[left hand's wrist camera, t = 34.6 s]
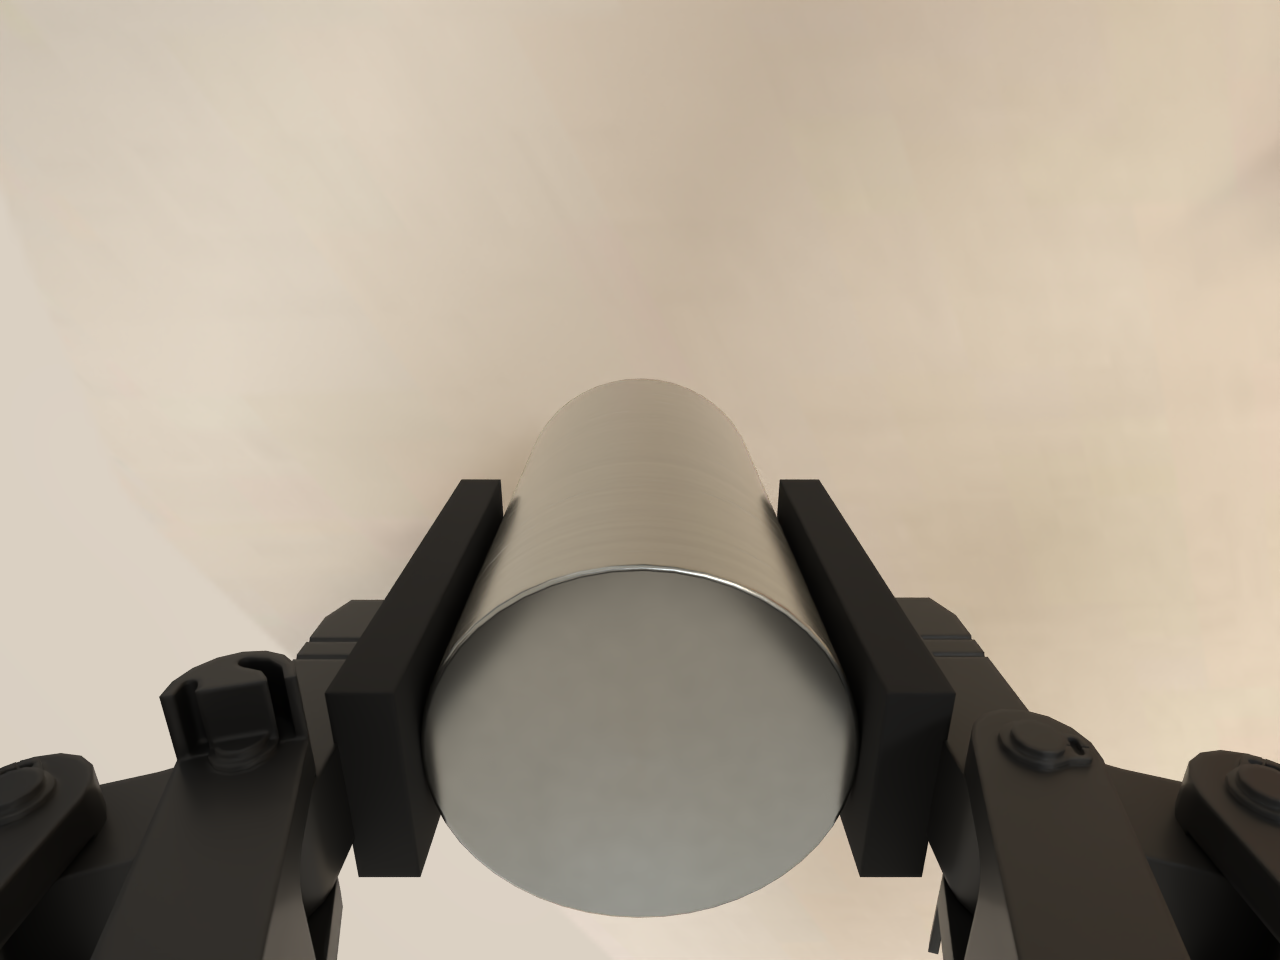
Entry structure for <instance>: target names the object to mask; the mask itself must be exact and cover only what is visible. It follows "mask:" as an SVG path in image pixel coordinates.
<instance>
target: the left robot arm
mask: <svg viewBox="0 0 1280 960" xmlns="http://www.w3.org/2000/svg"><path fill="white" fill-rule="evenodd" d="M502 519H503V506H502V492H501V480H461V481H460V483H459V484H458V486H457V487H456V489H455V491H454V492H453V494H452V495H451V497H450V498H449V500H448V501H447V503H446V505H445V506H444V508H443V509H442V511H441V512H440V514H439V515H438V517H437V519H436V520H435V522H434V523H433V525H432V526H431V528H430V529H429V531H428V533H427V534H426V536H425V537H424V539H423V540H422V542H421V544H420V545H419V547H418V548H417V550H416V551H415V553H414V554H413V556H412V558H411V559H410V561H409V562H408V564H407V565H406V567H405V568H404V570H403V572H402V573H401V575H400V576H399V578H398V579H397V581H396V582H395V584H394V586H393V587H392V589H391V590H390V592H389V593H388V595H387V596H386V598H385V600H351V601H349V602H348V603H346V604H345V605H343V606H342V607H340V608H339V609H337V610H336V611H334V612H333V613H331V614H330V615H328V616H327V617H325V618H324V620H323V621H322V622H321V624H320V625H319V626H318V628H317V629H316V630H315V632H314V633H313V634H312V636H311V637H310V641H309V642H306V643H305V645H304V646H303V647H302V649H301V650H300V651H299V653H298V654H297V659H293V661H291V660H290V659H289V658H287V657H286V656H285V655H283V654H278V653H273V652H269V651H251V652H240V653H236V654H231V655H227V656H223V657H219V658H216V659H213V660H211V661H209V662H206V663H204V664H201V665H199V666H197V667H194V668H192V669H191V670H189V671H188V672H186V673H185V674H183V675H182V676H180V677H179V678H177V679H176V680H174V681H173V682H172V683H171V684H170V685H169V686H168V687H167V688H166V690H165V691H164V692H163V693H162V694H161V696H160V697H159V698H160V701H161V705H162V708H163V712H164V715H165V719H166V722H167V726H168V729H169V732H170V736H171V739H172V743H173V747H174V750H175V754H176V757H177V762H176V764H175V766H174V768H171V769H168V770H164V771H161V772H157V773H152V774H148V775H143V776H138V777H134V778H129V779H125V780H120V781H115V782H111V783H106V784H102V785H99V782H98V779H97V776H96V773H95V770H94V767H93V765H92V764H91V763H90V762H88V761H87V760H86V759H85V758H83V757H82V756H79V755H71V754H63V753H59V754H52V755H44V756H38V757H32V758H29V759H25V760H21V761H20V762H17V763H16V762H15V763H13V764H10V765H7V766H4V767H2V768H0V960H337V953H338V944H339V935H340V926H341V917H342V908H343V905H342V898H341V891H340V886H339V881H338V875H339V873H340V870H341V868H342V866H343V864H344V861H345V859H346V857H347V855H348V852H349V850H350V848H351V846H352V844H353V849H354V854H355V859H356V865H357V870H358V876H359V877H420V876H421V873H422V870H423V867H424V864H425V861H426V858H427V855H428V852H429V849H430V846H431V843H432V840H433V837H434V833H435V830H436V827H437V824H438V821H439V818H440V815H441V814H440V812H439V810H438V808H437V807H436V805H435V803H434V800H433V798H432V795H431V792H430V790H429V787H428V784H427V781H426V777H425V772H424V767H423V762H422V756H421V734H420V732H421V725H422V717H423V709H424V706H425V703H426V699H427V696H428V693H429V689H430V686H431V684H432V681H433V679H434V677H435V674H436V672H437V670H438V667H439V665H440V663H441V661H442V658H443V656H444V654H445V651H446V649H447V647H448V644H449V642H450V640H451V637H452V635H453V633H454V630H455V628H456V626H457V624H458V621H459V619H460V617H461V614H462V612H463V610H464V607H465V605H466V603H467V600H468V598H469V596H470V593H471V591H472V589H473V586H474V584H475V582H476V580H477V577H478V575H479V573H480V570H481V568H482V566H483V563H484V561H485V559H486V556H487V554H488V552H489V549H490V547H491V545H492V543H493V540H494V538H495V536H496V533H497V531H498V529H499V526H500V524H501V522H502ZM777 519H778V521H779V524H780V526H781V528H782V531H783V533H784V535H785V538H786V540H787V542H788V544H789V547H790V549H791V551H792V554H793V556H794V558H795V561H796V563H797V565H798V567H799V570H800V572H801V574H802V577H803V579H804V581H805V584H806V586H807V588H808V591H809V593H810V595H811V597H812V600H813V602H814V604H815V607H816V609H817V611H818V614H819V616H820V618H821V620H822V623H823V625H824V627H825V630H826V632H827V634H828V637H829V639H830V641H831V644H832V646H833V648H834V650H835V653H836V655H837V657H838V660H839V662H840V664H841V667H842V669H843V671H844V673H845V676H846V678H847V680H848V683H849V685H850V687H851V690H852V693H853V697H854V700H855V704H856V708H857V712H858V718H859V729H860V748H859V761H858V766H857V770H856V774H855V779H854V783H853V786H852V789H851V791H850V794H849V796H848V799H847V801H846V804H845V806H844V808H843V810H842V811H841V813H840V817H841V820H842V823H843V826H844V829H845V832H846V835H847V838H848V841H849V844H850V847H851V850H852V854H853V857H854V860H855V863H856V866H857V869H858V872H859V875H860V877H922V873H923V868H924V862H925V857H926V852H927V846H928V841H929V843H930V845H931V848H932V850H933V852H934V854H935V857H936V859H937V861H938V863H939V865H940V868H941V870H942V872H943V876H942V881H941V886H940V891H939V896H938V901H937V906H936V911H935V916H934V920H933V925H932V930H931V935H930V942H929V949H928V952H931V953H935V954H938V952H939V947H940V943H941V942H942V952H943V960H1280V764H1278V763H1275V762H1273V761H1270V760H1267V759H1266V760H1265V759H1262V758H1261V757H1257V756H1253V755H1250V754H1245V753H1238V752H1231V751H1224V750H1217V751H1210V752H1202V753H1199V754H1198V755H1197V756H1196V757H1194V758H1193V759H1192V760H1191V761H1189V764H1188V766H1187V769H1186V772H1185V775H1184V778H1183V781H1182V782H1180V781H1175V780H1170V779H1166V778H1161V777H1157V776H1152V775H1147V774H1143V773H1138V772H1134V771H1129V770H1124V769H1120V768H1117V767H1113V766H1110V765H1106V764H1105V763H1104V760H1103V758H1102V757H1101V756H1100V754H1099V753H1098V752H1097V750H1096V749H1095V747H1094V746H1093V745H1092V743H1091V742H1090V741H1088V740H1087V739H1086V738H1084V737H1083V736H1082V735H1080V734H1079V733H1078V732H1077V731H1075V730H1074V729H1073V728H1071V727H1069V726H1067V725H1065V724H1063V723H1061V722H1059V721H1057V720H1054V719H1052V718H1050V717H1048V716H1044V715H1041V714H1037V713H1033V712H1029V711H1028V709H1027V708H1026V707H1025V705H1024V704H1023V703H1022V701H1021V700H1020V699H1019V697H1018V696H1017V695H1016V693H1015V692H1014V691H1013V690H1012V688H1011V687H1010V686H1009V684H1008V683H1007V682H1006V680H1005V679H1004V678H1003V676H1002V675H1001V674H1000V673H999V671H998V670H997V669H996V667H995V666H994V665H993V663H992V662H991V661H990V659H989V658H988V657H985V656H984V652H983V650H982V649H981V648H980V646H979V645H978V644H977V642H976V641H975V640H972V639H971V634H970V633H969V632H968V631H967V629H966V628H965V627H964V625H963V624H962V623H961V621H960V620H959V619H958V617H957V616H956V615H955V614H953V613H952V612H950V611H949V610H947V609H946V608H944V607H943V606H941V605H940V604H938V603H937V602H935V601H934V600H932V599H930V598H895V597H894V596H893V594H892V593H891V591H890V589H889V588H888V586H887V585H886V583H885V582H884V580H883V579H882V577H881V575H880V574H879V572H878V571H877V569H876V568H875V566H874V565H873V563H872V561H871V560H870V558H869V557H868V555H867V554H866V552H865V551H864V549H863V547H862V546H861V544H860V543H859V541H858V540H857V538H856V537H855V535H854V533H853V532H852V530H851V529H850V527H849V526H848V524H847V523H846V521H845V519H844V518H843V516H842V515H841V513H840V512H839V510H838V509H837V507H836V505H835V504H834V502H833V501H832V499H831V498H830V496H829V495H828V493H827V491H826V490H825V488H824V487H823V485H822V484H821V482H820V481H819V480H780V484H779V498H778V512H777Z"/></svg>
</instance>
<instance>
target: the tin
mask: <svg viewBox="0 0 1280 960" xmlns="http://www.w3.org/2000/svg"><path fill="white" fill-rule="evenodd" d="M420 734H421V756H422V762H423V767H424V772H425V777H426V781H427V784H428V787H429V790H430V792H431V795H432V798H433V800H434V803H435V805H436V807H437V808H438V810H439V812H440V814H441V816H442V817H443V819H444V821H445V823H446V824H447V826H448V827H449V828H450V829H451V831H452V832H453V833H454V835H455V836H456V838H457V839H458V840H459V842H460V843H461V844H462V845H463V846H464V847H465V848H466V849H467V850H468V851H469V852H470V853H471V854H472V855H473V856H474V857H475V858H476V859H477V860H479V861H480V862H481V863H482V864H484V865H485V866H486V867H487V868H489V869H490V870H491V871H492V872H494V873H495V874H496V875H498V876H500V877H501V878H503V879H504V880H506V881H508V882H509V883H511V884H513V885H514V886H516V887H518V888H520V889H522V890H524V891H526V892H528V893H530V894H532V895H534V896H536V897H538V898H541V899H544V900H547V901H549V902H552V903H555V904H558V905H560V906H564V907H568V908H572V909H576V910H580V911H584V912H588V913H595V914H601V915H608V916H618V917H636V918H641V917H664V916H672V915H679V914H687V913H692V912H696V911H701V910H705V909H709V908H714V907H717V906H720V905H722V904H725V903H728V902H731V901H734V900H737V899H740V898H742V897H744V896H746V895H748V894H750V893H753V892H755V891H757V890H759V889H761V888H763V887H765V886H766V885H768V884H770V883H771V882H773V881H775V880H776V879H778V878H780V877H781V876H783V875H784V874H785V873H787V872H788V871H789V870H791V869H792V868H793V867H794V866H796V865H797V864H798V863H800V862H801V861H802V860H803V859H804V858H805V857H806V856H807V855H808V854H809V853H810V852H811V851H812V850H813V849H814V848H815V847H816V846H817V845H818V844H819V843H820V842H821V841H822V839H823V838H824V837H825V836H826V834H827V833H828V832H829V830H830V829H831V828H832V827H833V825H834V823H835V822H836V820H837V818H838V817H839V815H840V813H841V811H842V810H843V808H844V806H845V804H846V801H847V799H848V796H849V794H850V791H851V789H852V786H853V783H854V779H855V774H856V770H857V766H858V761H859V748H860V729H859V718H858V712H857V708H856V704H855V700H854V697H853V693H852V690H851V687H850V685H849V683H848V680H847V678H846V676H845V673H844V671H843V669H842V667H841V664H840V662H839V660H838V657H837V655H836V653H835V650H834V648H833V646H832V644H831V641H830V639H829V637H828V634H827V632H826V630H825V627H824V625H823V623H822V620H821V618H820V616H819V614H818V611H817V609H816V607H815V604H814V602H813V600H812V597H811V595H810V593H809V591H808V588H807V586H806V584H805V581H804V579H803V577H802V574H801V572H800V570H799V567H798V565H797V563H796V561H795V558H794V556H793V554H792V551H791V549H790V547H789V544H788V542H787V540H786V538H785V535H784V533H783V531H782V528H781V526H780V524H779V521H778V519H777V517H776V514H775V512H774V510H773V508H772V505H771V503H770V501H769V498H768V496H767V494H766V491H765V489H764V487H763V485H762V482H761V480H760V478H759V475H758V473H757V471H756V468H755V466H754V464H753V462H752V459H751V457H750V455H749V452H748V450H747V448H746V446H745V443H744V441H743V439H742V437H741V435H740V434H739V432H738V430H737V429H736V427H735V426H734V424H733V423H732V422H731V421H730V420H729V418H728V417H727V416H726V415H725V414H724V413H723V412H722V411H721V410H720V409H719V408H718V407H717V406H715V405H714V404H713V403H712V402H710V401H709V400H707V399H706V398H704V397H703V396H702V395H700V394H698V393H696V392H694V391H692V390H690V389H688V388H685V387H682V386H680V385H677V384H674V383H670V382H665V381H660V380H653V379H626V380H620V381H615V382H610V383H607V384H604V385H600V386H597V387H595V388H593V389H590V390H588V391H586V392H584V393H582V394H580V395H579V396H577V397H576V398H574V399H573V400H571V401H570V402H568V403H567V404H566V405H565V406H564V407H562V408H561V409H560V410H559V411H558V412H557V413H556V414H555V415H554V416H553V417H552V418H551V420H550V421H549V422H548V423H547V425H546V426H545V428H544V429H543V431H542V432H541V434H540V435H539V437H538V439H537V441H536V443H535V446H534V448H533V450H532V452H531V455H530V457H529V459H528V462H527V464H526V466H525V468H524V471H523V473H522V475H521V478H520V480H519V482H518V485H517V487H516V489H515V492H514V494H513V496H512V499H511V501H510V503H509V505H508V508H507V510H506V512H505V515H504V517H503V519H502V522H501V524H500V526H499V529H498V531H497V533H496V536H495V538H494V540H493V543H492V545H491V547H490V549H489V552H488V554H487V556H486V559H485V561H484V563H483V566H482V568H481V570H480V573H479V575H478V577H477V580H476V582H475V584H474V586H473V589H472V591H471V593H470V596H469V598H468V600H467V603H466V605H465V607H464V610H463V612H462V614H461V617H460V619H459V621H458V624H457V626H456V628H455V630H454V633H453V635H452V637H451V640H450V642H449V644H448V647H447V649H446V651H445V654H444V656H443V658H442V661H441V663H440V665H439V667H438V670H437V672H436V674H435V677H434V679H433V681H432V684H431V686H430V689H429V693H428V696H427V699H426V703H425V706H424V709H423V717H422V725H421V732H420Z"/></svg>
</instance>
